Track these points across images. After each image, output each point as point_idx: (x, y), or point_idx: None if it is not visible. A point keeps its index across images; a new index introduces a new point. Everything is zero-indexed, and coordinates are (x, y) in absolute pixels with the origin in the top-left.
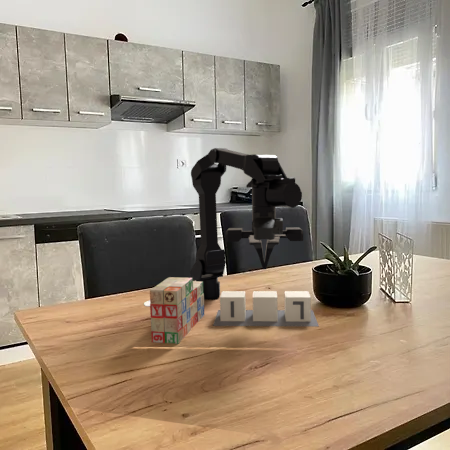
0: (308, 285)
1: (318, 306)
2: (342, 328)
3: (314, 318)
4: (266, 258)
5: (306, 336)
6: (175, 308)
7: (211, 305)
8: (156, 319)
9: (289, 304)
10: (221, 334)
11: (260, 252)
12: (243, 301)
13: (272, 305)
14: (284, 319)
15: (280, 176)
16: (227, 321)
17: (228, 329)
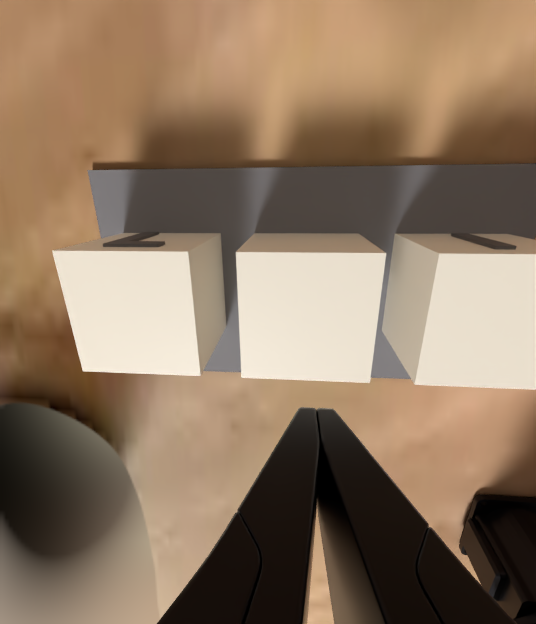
0: (158, 603)
1: (114, 418)
2: (6, 169)
3: None
4: (294, 492)
5: (133, 47)
6: None
7: (504, 448)
8: None
9: (181, 245)
10: (526, 51)
11: (438, 615)
12: (434, 248)
13: (269, 243)
14: (226, 259)
15: None
16: (474, 229)
17: (478, 135)
